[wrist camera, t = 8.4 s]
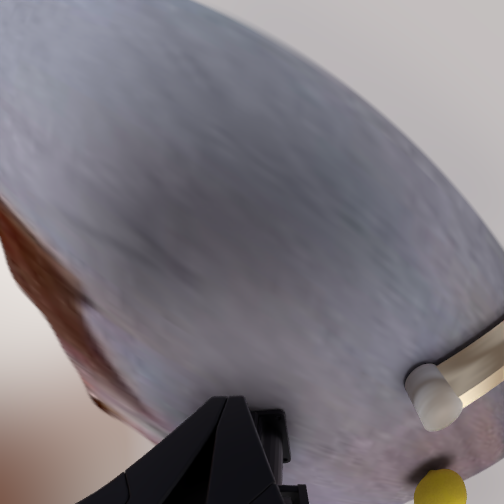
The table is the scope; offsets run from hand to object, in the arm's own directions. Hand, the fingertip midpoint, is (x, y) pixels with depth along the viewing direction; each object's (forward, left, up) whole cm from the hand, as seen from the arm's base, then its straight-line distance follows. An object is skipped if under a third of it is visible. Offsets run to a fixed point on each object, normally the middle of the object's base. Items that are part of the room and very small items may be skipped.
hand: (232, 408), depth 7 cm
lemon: (-25, -15, -12) cm, 32 cm away
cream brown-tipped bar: (-9, -15, -12) cm, 21 cm away
